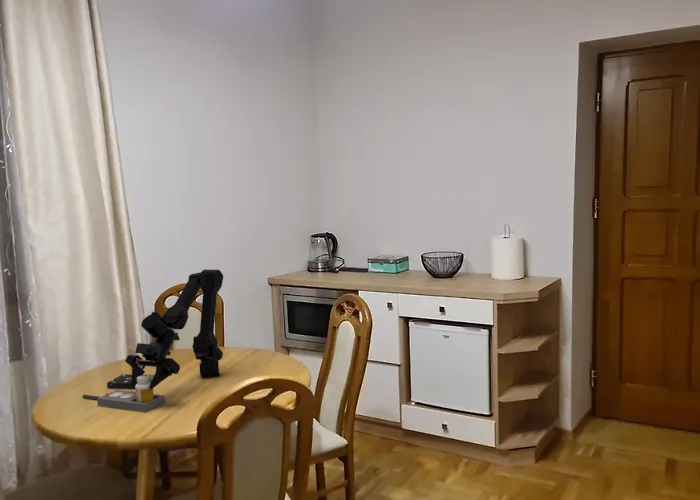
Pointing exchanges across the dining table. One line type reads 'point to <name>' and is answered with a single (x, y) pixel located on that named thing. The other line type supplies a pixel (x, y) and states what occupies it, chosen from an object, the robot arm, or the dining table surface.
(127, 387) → the disk drive
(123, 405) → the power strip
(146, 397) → the supplement bottle
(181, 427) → the dining table surface
